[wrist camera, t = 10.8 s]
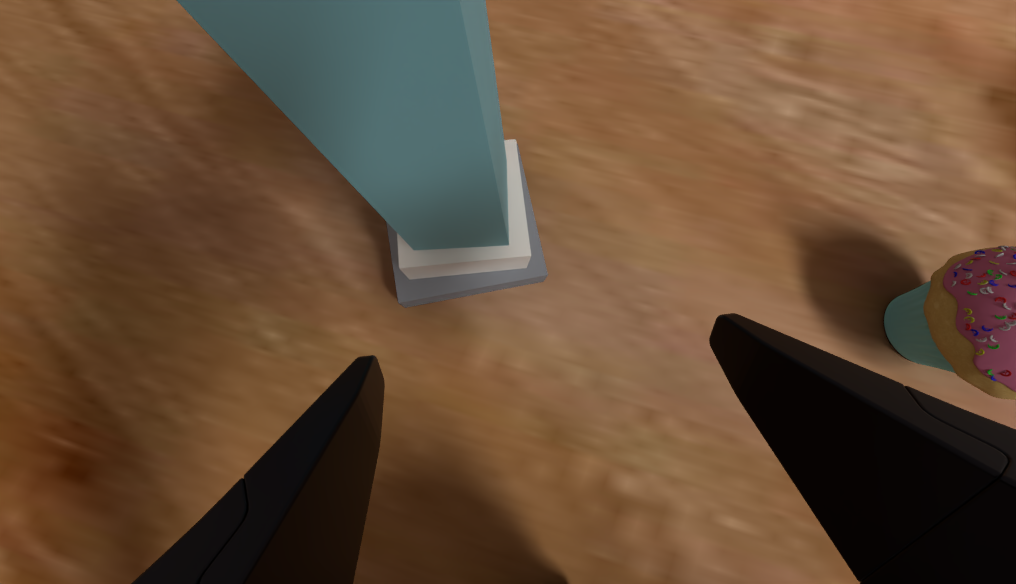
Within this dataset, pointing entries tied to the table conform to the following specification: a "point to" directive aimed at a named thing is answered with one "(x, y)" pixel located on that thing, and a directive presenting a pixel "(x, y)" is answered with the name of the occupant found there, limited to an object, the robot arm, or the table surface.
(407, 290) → the tower base slab
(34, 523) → the table surface
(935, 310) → the cupcake
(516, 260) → the tower top slab
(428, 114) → the teal pillar
